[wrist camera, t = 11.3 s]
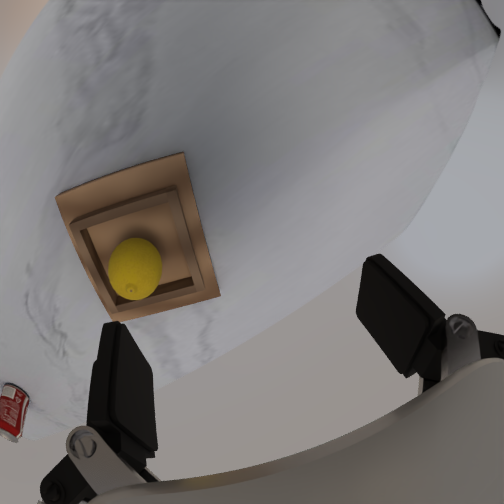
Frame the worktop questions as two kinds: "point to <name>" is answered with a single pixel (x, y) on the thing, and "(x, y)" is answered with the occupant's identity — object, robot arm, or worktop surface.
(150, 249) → the lemon
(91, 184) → the board
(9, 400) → the soda can
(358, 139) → the worktop surface
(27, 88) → the worktop surface
